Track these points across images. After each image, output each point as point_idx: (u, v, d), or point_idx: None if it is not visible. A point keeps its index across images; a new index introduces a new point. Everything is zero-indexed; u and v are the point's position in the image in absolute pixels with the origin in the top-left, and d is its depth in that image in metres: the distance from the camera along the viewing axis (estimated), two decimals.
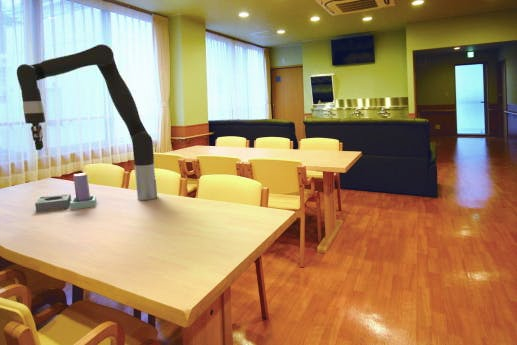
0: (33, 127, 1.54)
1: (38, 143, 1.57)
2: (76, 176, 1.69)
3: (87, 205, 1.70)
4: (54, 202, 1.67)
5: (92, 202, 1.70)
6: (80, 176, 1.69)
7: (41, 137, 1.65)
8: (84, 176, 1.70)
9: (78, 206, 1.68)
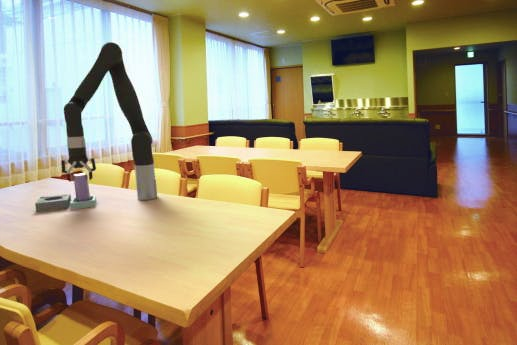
0: (93, 159, 1.72)
1: None
2: (76, 176, 1.69)
3: (87, 205, 1.70)
4: (54, 202, 1.67)
5: (92, 202, 1.70)
6: (80, 176, 1.69)
7: None
8: (84, 176, 1.70)
9: (78, 206, 1.68)
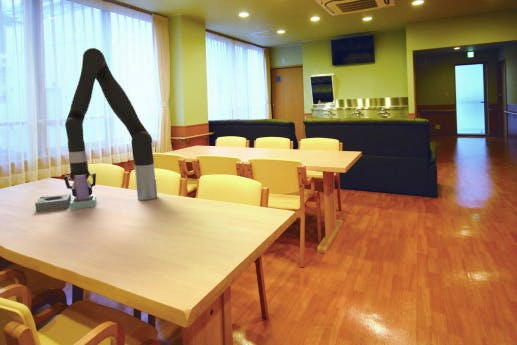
0: (95, 174, 1.73)
1: (91, 188, 1.74)
2: (76, 176, 1.69)
3: (87, 205, 1.70)
4: (54, 202, 1.67)
5: (92, 202, 1.70)
6: (80, 176, 1.69)
7: None
8: (84, 176, 1.70)
9: (78, 206, 1.68)
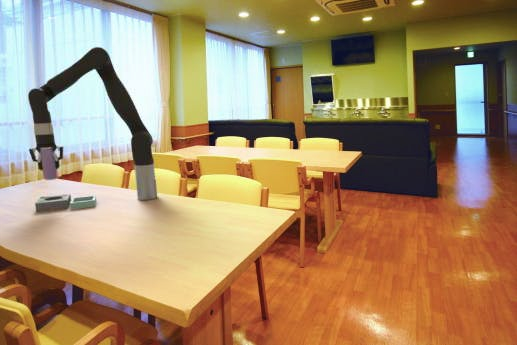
0: (62, 147, 1.70)
1: (58, 162, 1.71)
2: (42, 148, 1.65)
3: (87, 205, 1.70)
4: (54, 202, 1.67)
5: (92, 202, 1.70)
6: (46, 148, 1.66)
7: None
8: (50, 149, 1.67)
9: (78, 206, 1.68)
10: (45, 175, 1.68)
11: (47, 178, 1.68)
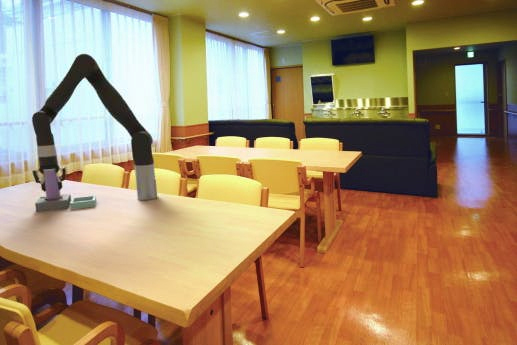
0: (65, 169, 1.72)
1: (61, 183, 1.73)
2: (45, 170, 1.67)
3: (87, 205, 1.70)
4: (54, 202, 1.67)
5: (92, 202, 1.70)
6: (49, 170, 1.67)
7: None
8: (53, 170, 1.69)
9: (78, 206, 1.68)
10: (48, 196, 1.69)
11: (50, 199, 1.70)
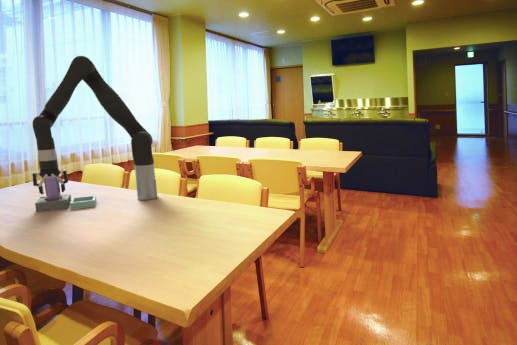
0: (65, 171, 1.72)
1: (64, 185, 1.74)
2: (46, 177, 1.68)
3: (87, 205, 1.70)
4: (54, 202, 1.67)
5: (92, 202, 1.70)
6: (50, 177, 1.68)
7: (42, 183, 1.71)
8: (54, 177, 1.69)
9: (78, 206, 1.68)
10: None
11: None
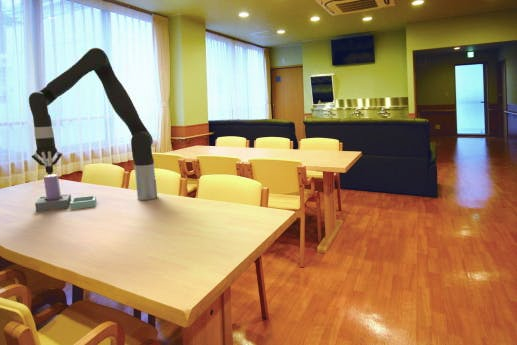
0: (61, 154, 1.70)
1: (52, 167, 1.70)
2: (46, 177, 1.68)
3: (87, 205, 1.70)
4: (54, 202, 1.67)
5: (92, 202, 1.70)
6: (50, 177, 1.68)
7: (47, 162, 1.70)
8: (54, 177, 1.69)
9: (78, 206, 1.68)
10: None
11: None
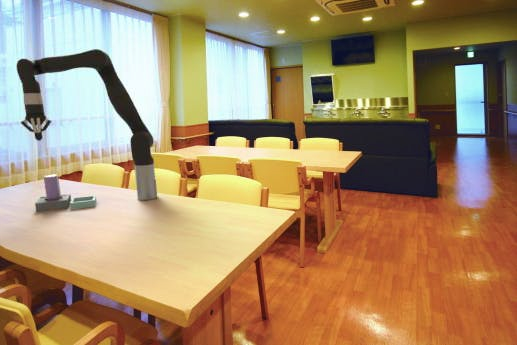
0: (50, 121, 1.74)
1: (41, 134, 1.74)
2: (46, 177, 1.68)
3: (87, 205, 1.70)
4: (54, 202, 1.67)
5: (92, 202, 1.70)
6: (50, 177, 1.68)
7: None
8: (54, 177, 1.69)
9: (78, 206, 1.68)
10: None
11: None
